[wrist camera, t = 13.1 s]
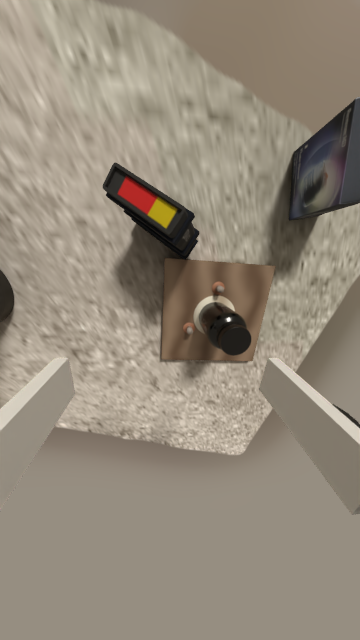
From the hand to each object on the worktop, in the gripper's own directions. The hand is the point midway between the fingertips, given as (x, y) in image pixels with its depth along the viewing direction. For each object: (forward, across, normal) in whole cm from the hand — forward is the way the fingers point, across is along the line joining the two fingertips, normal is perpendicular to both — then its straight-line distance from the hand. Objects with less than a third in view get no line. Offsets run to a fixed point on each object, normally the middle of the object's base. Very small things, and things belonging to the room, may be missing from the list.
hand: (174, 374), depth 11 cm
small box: (+25, +24, +21) cm, 41 cm away
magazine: (+26, -2, +12) cm, 29 cm away
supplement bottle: (+24, +10, -4) cm, 26 cm away
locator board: (+25, +10, -4) cm, 27 cm away
